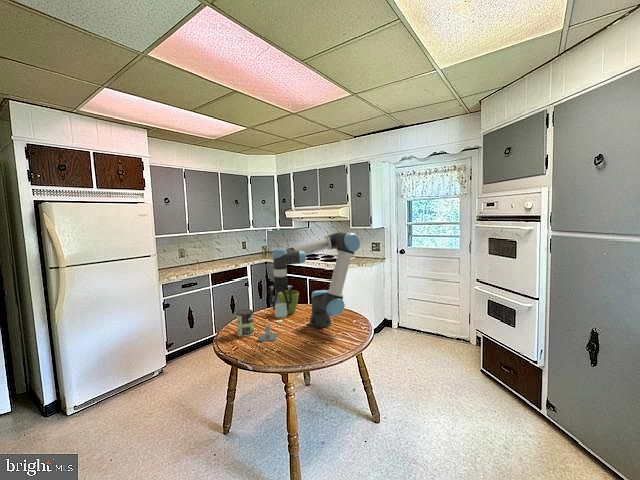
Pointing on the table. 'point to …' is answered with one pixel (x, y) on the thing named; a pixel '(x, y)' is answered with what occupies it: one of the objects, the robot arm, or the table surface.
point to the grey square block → (267, 334)
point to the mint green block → (280, 310)
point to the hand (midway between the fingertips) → (281, 315)
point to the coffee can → (245, 322)
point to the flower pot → (294, 300)
